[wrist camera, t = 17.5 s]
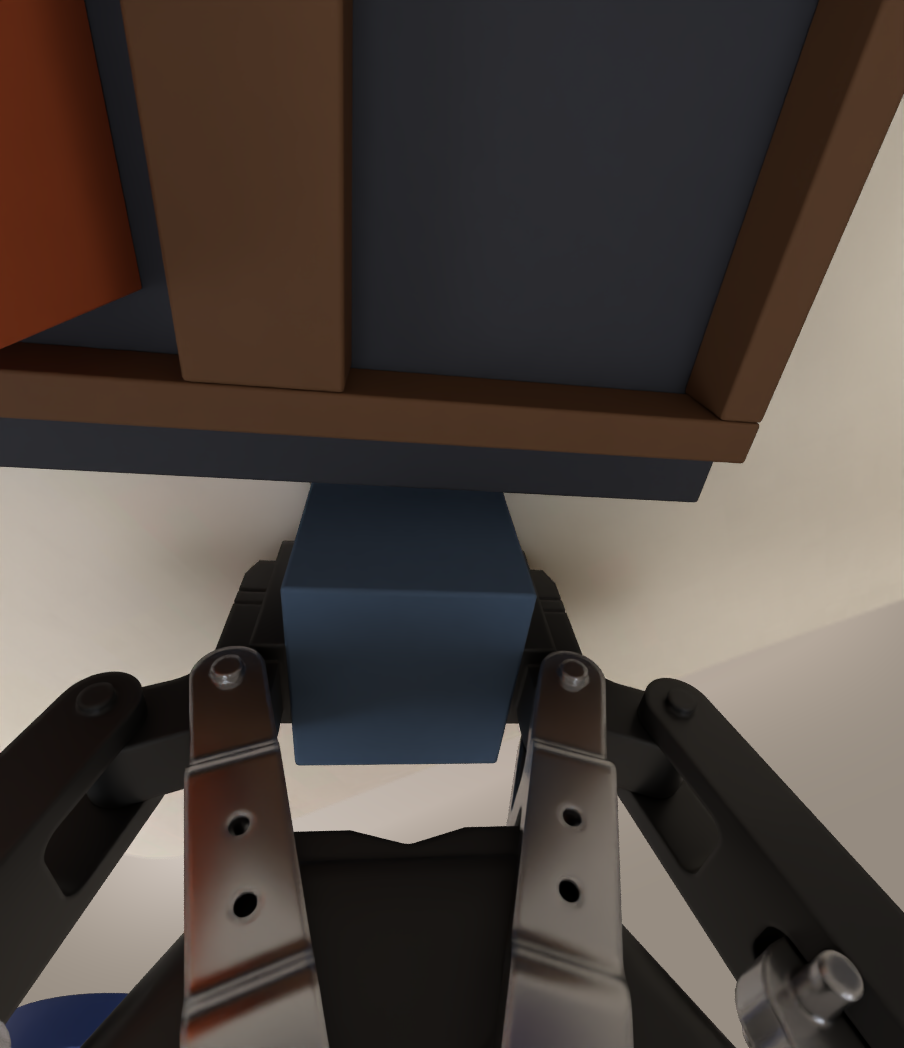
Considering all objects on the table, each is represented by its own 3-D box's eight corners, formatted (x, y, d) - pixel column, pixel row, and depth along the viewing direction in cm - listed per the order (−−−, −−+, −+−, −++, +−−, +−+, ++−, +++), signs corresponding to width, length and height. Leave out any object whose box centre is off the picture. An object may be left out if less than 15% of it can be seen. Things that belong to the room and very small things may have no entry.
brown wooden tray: (675, 479, 13) (732, 541, 11) (-154, 432, 11) (-298, 497, 9) (981, -359, 7) (1270, -627, 5) (-849, -876, 5) (-2070, -1908, 2)
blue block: (476, 639, 16) (497, 764, 12) (318, 636, 15) (294, 767, 12) (503, 487, 13) (538, 596, 10) (311, 477, 12) (278, 588, 9)
